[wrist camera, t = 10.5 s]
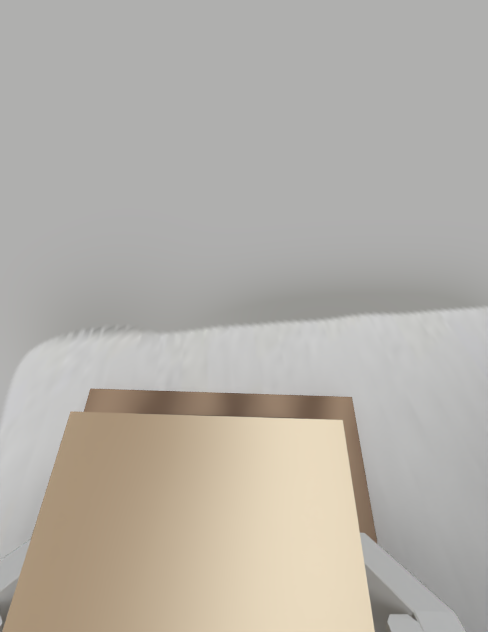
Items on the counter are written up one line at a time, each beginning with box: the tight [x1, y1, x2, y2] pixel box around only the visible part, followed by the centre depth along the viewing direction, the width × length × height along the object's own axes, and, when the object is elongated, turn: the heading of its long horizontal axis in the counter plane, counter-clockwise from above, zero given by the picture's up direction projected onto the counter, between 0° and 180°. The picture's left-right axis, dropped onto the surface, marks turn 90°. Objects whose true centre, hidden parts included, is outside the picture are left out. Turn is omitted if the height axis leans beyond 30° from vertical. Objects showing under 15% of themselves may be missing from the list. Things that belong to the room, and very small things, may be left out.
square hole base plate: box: [84, 389, 377, 543], centre depth 19 cm, size 22×16×6 cm
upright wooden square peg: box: [2, 412, 375, 632], centre depth 10 cm, size 4×4×14 cm
